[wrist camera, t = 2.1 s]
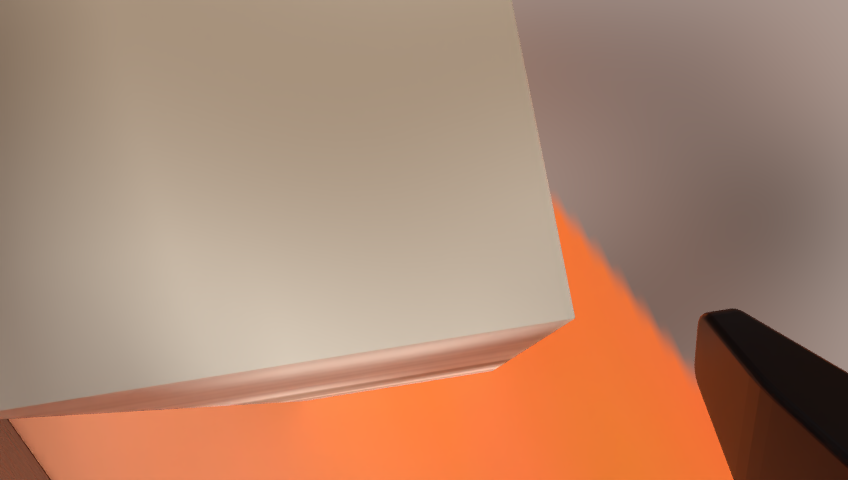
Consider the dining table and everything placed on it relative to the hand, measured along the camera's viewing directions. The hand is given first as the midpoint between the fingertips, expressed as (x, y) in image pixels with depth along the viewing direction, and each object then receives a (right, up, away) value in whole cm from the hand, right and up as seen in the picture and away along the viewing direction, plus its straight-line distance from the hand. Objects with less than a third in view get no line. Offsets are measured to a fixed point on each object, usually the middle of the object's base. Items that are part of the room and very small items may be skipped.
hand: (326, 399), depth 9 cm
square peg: (0, +1, +11) cm, 11 cm away
